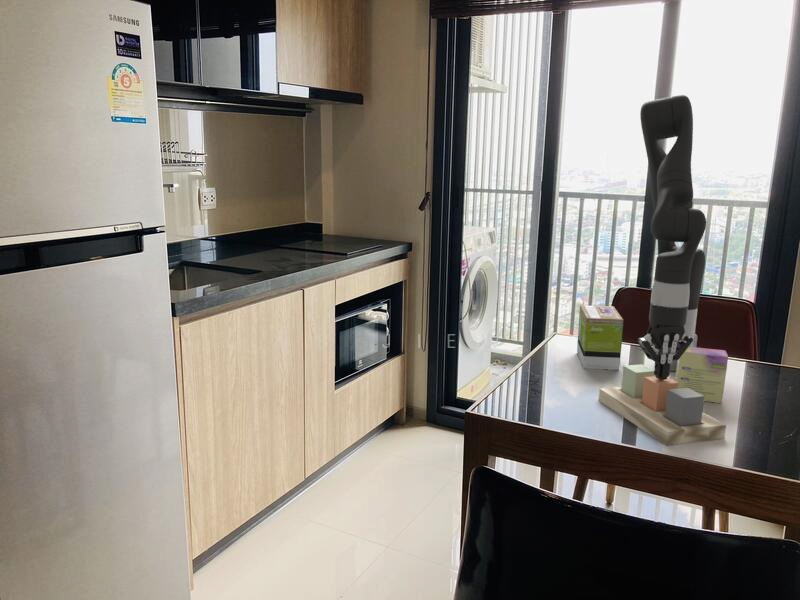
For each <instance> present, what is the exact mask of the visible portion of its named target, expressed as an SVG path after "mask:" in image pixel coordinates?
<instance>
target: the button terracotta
mask: <svg viewBox="0 0 800 600" xmlns="http://www.w3.org/2000/svg"><path fill="white" fill-rule="evenodd" d="M678 384H679V383H678V382H676V381H675V379H672V378H670V377H669V376H668V377H667V379H666V380H659V379H658V378H656V377H655V376H651V377H644V387H643V396H642V404H643V405H645V406H646V407H648V408H650V409H651V410H653V411H655V412H660V411H666V402H667V393H668V390H670V389H678Z"/></svg>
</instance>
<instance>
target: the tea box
mask: <svg viewBox="0 0 800 600" xmlns="http://www.w3.org/2000/svg"><path fill="white" fill-rule="evenodd" d="M578 315H579V316H578V317H579V318H578V329H577V330H578V333H577V346H576V347H577V348H576V352H577V356H578V357H579V361H580V363H581V366H582V368H583V369H584V368H589V369H588V370H601V369H608V370H607V371H619V370H620V368H621V357H622V356H621V354H622V344H623V343H622V341H623V331H624V330H623V329H624V319H623V317H622V316H621V315H620V313H619V312H618V310H617V309H616V308H615V306H613V305H611V306H610V305H583V304H582V305H581V304H580V305H579V313H578Z"/></svg>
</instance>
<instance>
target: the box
mask: <svg viewBox="0 0 800 600" xmlns="http://www.w3.org/2000/svg"><path fill="white" fill-rule="evenodd" d="M728 360H729V355H728V353H727V351H726V350H725V349H724V350H723V349H716V348H715V349H713V348H705V347H704V348H703V347H697V346H696V347H688V348H687V349H686V351H685V352H684V353H683V355H682V356H681V357H680V358H679V360H678V361H677V369H676V371H675V378H674V381H676V382H678V383H679V384H678V389H680V388H689V389H691V390H693V391H695V392H697V393H699V394H701V395H703V396H704V402H710V403H711V402H712V403H716V404H723V398H724V391H725V390H724V389H725V383H726V375H727V368H728Z"/></svg>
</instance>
